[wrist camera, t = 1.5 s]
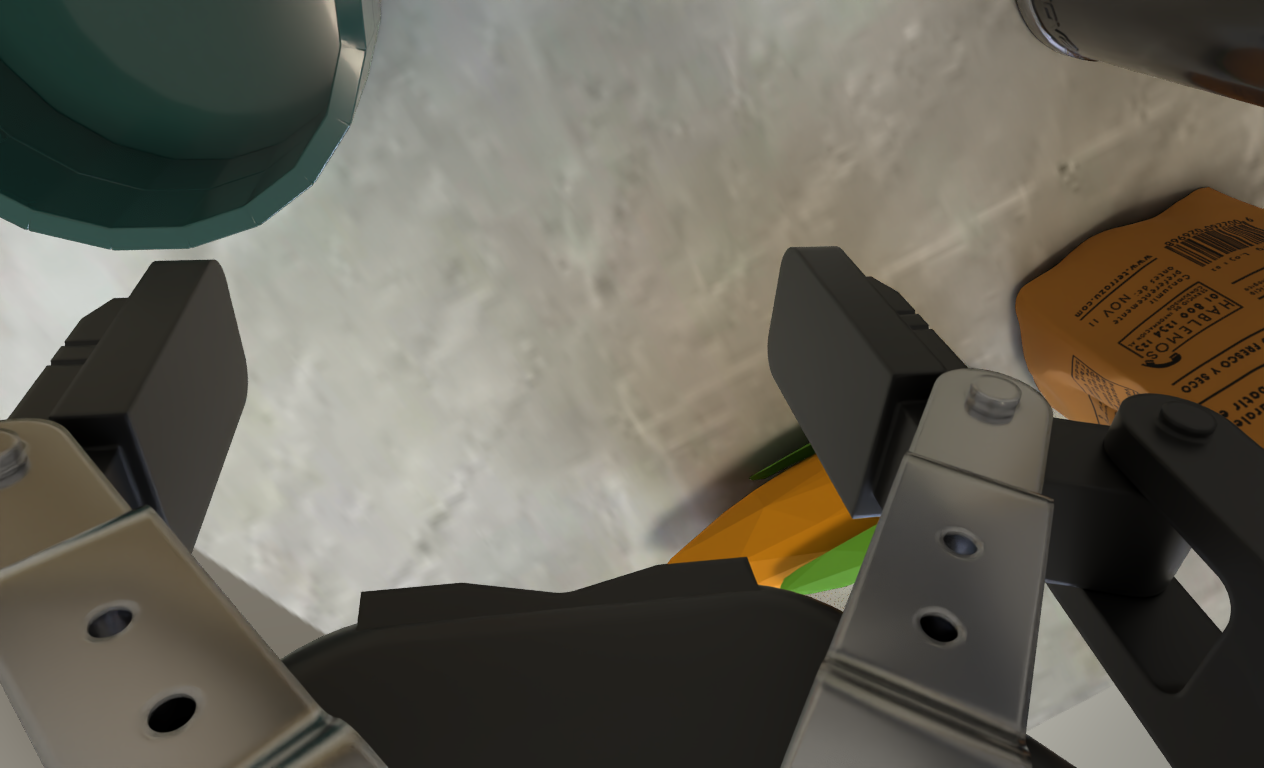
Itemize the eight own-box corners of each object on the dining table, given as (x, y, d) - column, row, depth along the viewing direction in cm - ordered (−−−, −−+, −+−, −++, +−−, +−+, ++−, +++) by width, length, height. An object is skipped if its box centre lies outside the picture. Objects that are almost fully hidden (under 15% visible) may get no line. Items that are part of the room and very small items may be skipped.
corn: (1089, 527, 39) (708, 706, 40) (999, 443, 46) (674, 598, 47) (1064, 409, 35) (646, 608, 36) (970, 336, 42) (619, 507, 43)
